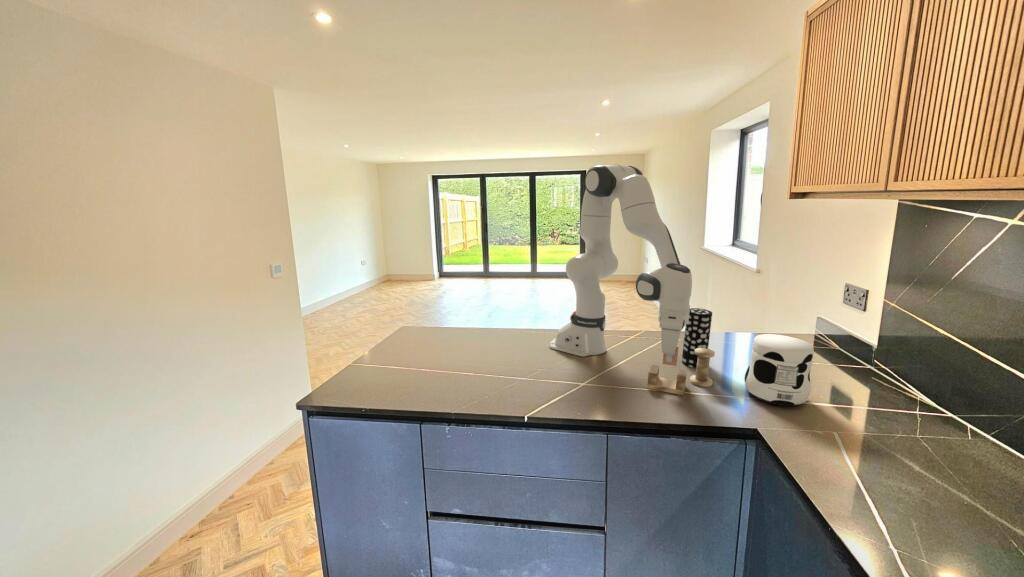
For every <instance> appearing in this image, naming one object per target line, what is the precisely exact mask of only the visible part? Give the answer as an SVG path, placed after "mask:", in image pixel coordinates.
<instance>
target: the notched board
mask: <svg viewBox="0 0 1024 577" xmlns="http://www.w3.org/2000/svg"><path fill="white" fill-rule="evenodd" d="M687 373H688V370H687V369H686V370H685V369H681V368H680V369H678V371H677V375H676V379H671V378H666V377H660V376H659V374H660V365H656V364H651V365H650V368H649V371H648V375H647V377H648V378H647V386H646V388H647V389H649V390H655V391H658V392H659V391H660V392H665V393H670V394H675V395H681V396H684V395H685V390H686V381H687V375H688V374H687Z"/></svg>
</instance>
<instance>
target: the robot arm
mask: <svg viewBox="0 0 1024 577" xmlns="http://www.w3.org/2000/svg"><path fill="white" fill-rule="evenodd" d="M584 187H585V191H584V195H583V198H582V203H581V211H580V212H581V213H580V214H581V215H580V227H579V228H580V230H579V236H580V237H581V239H582V240H583V241H584V243H585V249H586V252H584V253H578V254H576V255H574V256H573V257H571V258H570V259H569V260H567V262H566V265H565V273H566V275H567V278H568V280H570V281H571V282H572V284H573V286H574V290H575V301H576V304H575V306H576V307H575V310H574V311H572V314H571V315H570V317H569V320H570V321H569V322H568V323H566V324H565V325H563V326H562V327H560V329H559V330H558V331H557V332H556V336H555V338H553V339H552V340H551V341H550V342H549V348H550V349H551V350H557V351H560V352H564V353H567V354H571V355H575V356H579V357H587V356H597V355H602V354H604V353H606V351H607V345H606V340H605V329H606V315H605V312H606V311H605V309H606V296H605V294H604V292H602V290H601V287H600V280H602V279H606V278H608V277H610V276H611V275H613V274H614V273H616V271H617V269H618V268H619V260H618V258H617V255H615V254H614V251H613V248H612V244H611V243H612V242H611V226H612V225H611V224H612V206H613V203H614V201H615V200H616V199H618V201H619V207H620V210H621V211H620V212H621V216H622V217H621V218H622V222H623V225H624V227H625V229H626V230H627V231H628V232H630V233H631V234H632V235H634V236H637V237H639V238H642V239H643V240H645V241H648V242H649V243H650V244H651V245H652V246H653V247H654V249H655V252H656V255H657V257H658V258H657V259H658V261H659V263H660V266H661V267H660V268H657V269H654V270H650V271H649V270H648V271H645V272H642V273H640V274H639V276H637V278H636V281H635V290H636V293H637V295H638V297H639V298H640V299H642V300H644V301H646V302H647V301H648V302H654V301H655V302H656V301H657V302H659V305H658V306H659V308H658V322H659V326H658V327H659V328H660V330H661V331H660V340H661V341H660V342H661V344H660V345H661V346H660V347H661V348H660V349H661V353H662V354H666V361H667V362H672V358H673V355H674V354H675V351H676V347H678V346H677V345H678V342H679V338H680V335H681V332H682V330H683V329H685V326H686V325H687V324H688V322H689V312H690V309H691V306H690V299H691V296H692V292H693V291H692V288H693V278H692V277H693V275H692V271H691V269H690V268H689V267H688V266H686V265H684V264H681V262H680V259H679V256H678V253H677V251H676V248H675V244H674V241H673V238H672V235H671V234H670V230H669V229H668V227H667V225H666V224H665V223H664V221H663V220H662V218H661V216H660V213H659V212H658V208H657V204H656V200H655V196H654V193H653V189H652V187H651V184H650V182H649V180H648V178H647V177H646V176H644V175H643V172H642V171H641V170H640V169H639V168H638V167H636V166H633V165H623V164H608V165H607V164H606V165H604V164H598V165H595V166H592V167H591V168H589V169H588V170H587V172H586V173H585V177H584Z"/></svg>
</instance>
